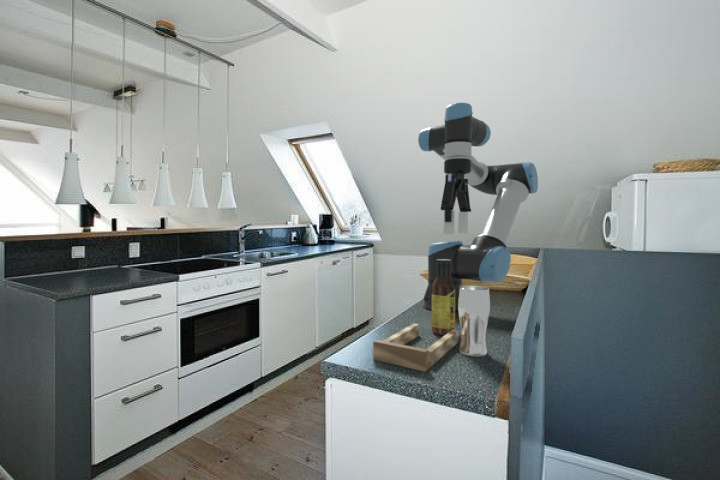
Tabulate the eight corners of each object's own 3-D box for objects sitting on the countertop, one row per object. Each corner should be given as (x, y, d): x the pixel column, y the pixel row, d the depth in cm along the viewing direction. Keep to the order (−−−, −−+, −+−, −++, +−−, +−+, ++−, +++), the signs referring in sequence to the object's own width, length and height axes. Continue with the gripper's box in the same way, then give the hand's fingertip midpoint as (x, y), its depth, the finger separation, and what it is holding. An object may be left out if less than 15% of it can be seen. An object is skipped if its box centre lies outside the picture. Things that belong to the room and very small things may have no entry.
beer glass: (485, 359, 81) (486, 291, 80) (453, 354, 84) (454, 288, 84) (491, 350, 87) (492, 286, 86) (461, 345, 90) (462, 284, 90)
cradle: (413, 334, 99) (413, 319, 99) (458, 342, 93) (458, 326, 92) (373, 359, 81) (373, 341, 81) (425, 371, 74) (425, 351, 74)
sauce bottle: (455, 337, 97) (456, 261, 96) (431, 335, 98) (432, 260, 97) (454, 329, 103) (455, 258, 103) (431, 328, 105) (432, 258, 104)
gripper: (457, 166, 120) (456, 232, 121) (429, 153, 99) (428, 234, 100) (481, 164, 116) (480, 233, 117) (457, 151, 95) (456, 235, 96)
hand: (456, 233), depth 108 cm, fingers open, 12 cm apart
